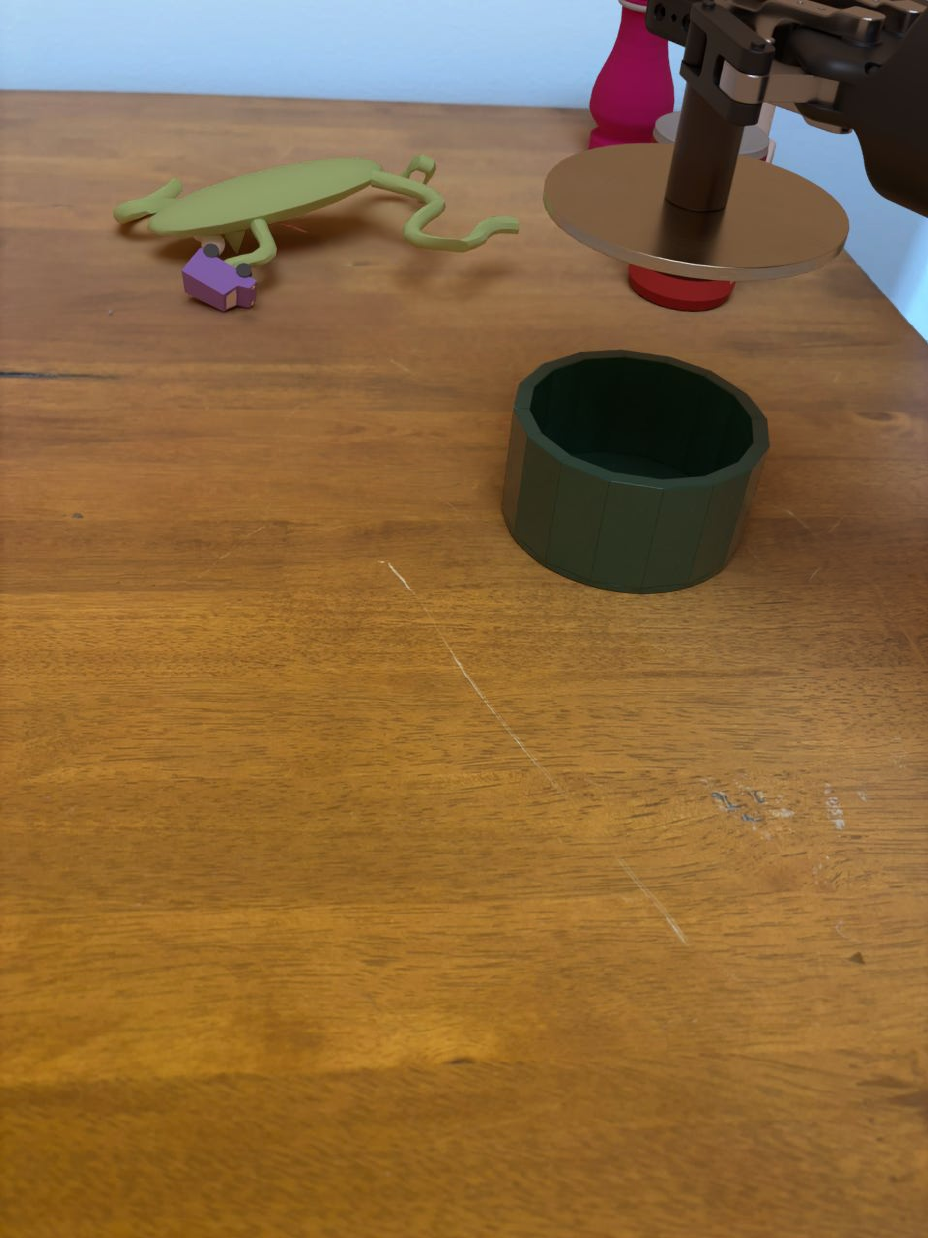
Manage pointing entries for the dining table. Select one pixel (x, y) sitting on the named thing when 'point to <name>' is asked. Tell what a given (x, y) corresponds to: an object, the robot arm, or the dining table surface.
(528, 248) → the dining table surface
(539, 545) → the tin
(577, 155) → the tin lid
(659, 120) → the canned food
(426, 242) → the figurine
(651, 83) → the pepper mill
